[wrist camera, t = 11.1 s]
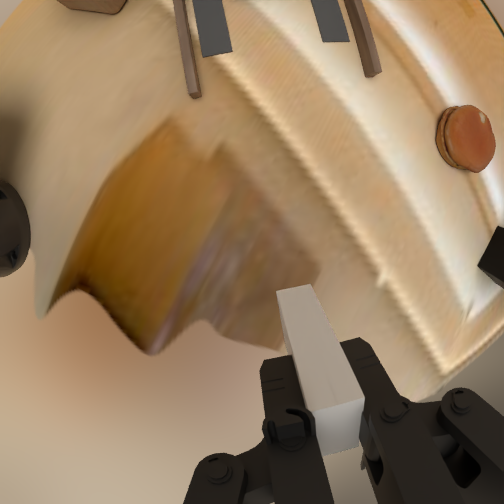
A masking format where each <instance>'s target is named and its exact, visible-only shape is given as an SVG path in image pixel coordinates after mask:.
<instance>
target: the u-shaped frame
mask: <svg viewBox="0 0 504 504" xmlns="http://www.w3.org/2000/svg"><path fill="white" fill-rule="evenodd" d="M173 3H174V10H175V16H176V23H177V29H178V35H179V42H180V48H181V54H182V60H183V65H184V71H185V77H186V83H187V88H188V94H189V95H190V96H191V97H192V98H193V99H194V98H198V97H201V92H200V86H199V81H198V75H197V70H196V64H195V59H194V53H193V47H192V42H191V36H190V30H189V24H188V18H187V13H186V7H185V1H184V0H173ZM344 3H345V6H346V9H347V12H348V15H349V18H350V21H351V24H352V28H353V31H354V35H355V38H356V42H357V46H358V49H359V53H360V57H361V61H362V65H363V69H364V73H365V77H373V76H375V75H377V74H379V73H381V72H382V69H381V65H380V61H379V57H378V53H377V49H376V46H375V42H374V38H373V35H372V32H371V28H370V25H369V22H368V19H367V16H366V12H365V9H364V7H363V4H362V1H361V0H344Z"/></svg>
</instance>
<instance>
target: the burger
mask: <svg viewBox="0 0 504 504" xmlns="http://www.w3.org/2000/svg"><path fill="white" fill-rule="evenodd" d="M436 142H437V146H438V149H439V151H440V153H441V155H442V157H443V158H444V160H445V161H446V162H447V163H448V164H450V165H451V166H452V167H455V168H457V169H468V170H470V171H471V172H474V173H479V172H480V171H482V170H483V169H485V168H486V166H487V165H488V164H489V162H490V161H491V160H492V158H493V156H494V153H495V147H496V143H495V137H494V134H493V133H492V127H491V124H490V121H489V119H488V118H487V116H486V115H485V114H484V113H483V112H482V111H480V110H479V109H478V108H476V107H474V106H472V105H464V106H461V107H458V106H455V107H450V108H448V109H446V110H445V111H444V114H443V117H442V119H441V121H440V123H439V125H438V129H437V136H436Z"/></svg>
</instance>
